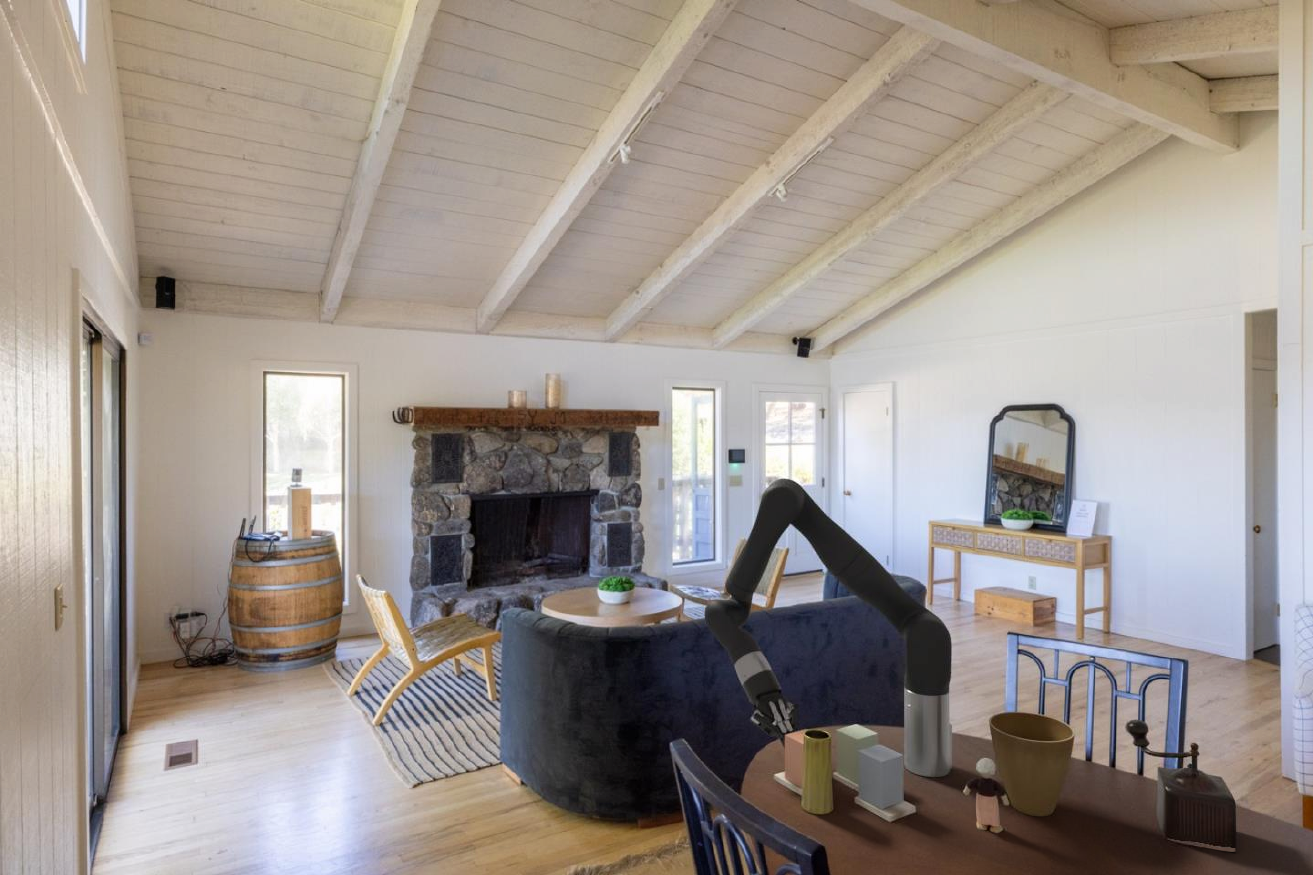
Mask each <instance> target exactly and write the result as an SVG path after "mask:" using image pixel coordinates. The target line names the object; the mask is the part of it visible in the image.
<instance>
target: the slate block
mask: <svg viewBox="0 0 1313 875" xmlns="http://www.w3.org/2000/svg"><path fill="white" fill-rule="evenodd" d="M904 788H905V787H904V754H902V753H900V752H898V751H895V750H893V749H891V748H889V747H886V746H884V745H882V744H880V743H878V745H875V746H872V747H869V748H866V749H862V750H859V751H858V791H857V793H858V794H857V796H858V797H860V798H862V799H864V800H866V801H868V802H870V803H871V804H873V805H875V806H877V807H879V808H881V809H884V808H887V807H889V806H892V805H895V804H897V803H900V802H903V801H905V800H904Z"/></svg>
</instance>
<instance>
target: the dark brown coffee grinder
mask: <svg viewBox="0 0 1313 875" xmlns="http://www.w3.org/2000/svg"><path fill="white" fill-rule="evenodd" d="M1125 731H1126V732H1127V733H1128V734H1130V736H1131V737H1132V739H1133V741H1132V745H1134V746H1135V747H1139V748H1140V750H1141V751H1142V752H1143V753H1144V754H1147V755H1148V756H1152V757H1158V758H1165V759H1168V758H1169V759H1183V758H1189V757H1191V763H1186V766H1187V767H1182V768H1168V767H1162V766H1157V806H1156V812H1155V814H1156V820H1157V819H1158V820H1157V823H1158V822H1159V823H1158V824H1159V825H1160V826H1159V825H1158V826H1159V829H1160V828H1161V829H1160V831H1161V830H1162V831H1161V833H1162V832H1163V833H1164V835H1165V836H1164V835H1163V836H1164V838H1165V837H1166V838H1169V839H1174V840H1180V841H1191V842H1199V843H1204V844H1209V845H1213V846H1221V847H1231V848H1236V849H1237V810H1236V809H1237V808H1236V807H1237V806H1236V804H1237V803H1236V800H1235V797H1234V796H1233V794H1232V792H1231V790H1230V788H1229V787H1228V786H1227V783H1226V782H1225V780H1224V779H1223V778H1222V776H1218V775H1212V774H1207V773H1205V772H1204V771H1202V770H1200V769H1199V768H1198V757H1199V756H1200V752H1199V748H1200V747H1199V745H1198V744H1197V742H1191V744H1190V749H1189V751H1187V752H1186V751H1185V752H1159V751H1153V750H1150V749H1149V748H1148V747H1149V745H1150V741H1149V740H1148V738H1147V736H1148V733H1149V726H1148V724H1147V723H1146V722H1145V721H1144V720H1143V721H1142V720H1140V719H1131V720H1129V721H1127V722H1126V724H1125ZM1163 833H1162V834H1163ZM1166 838H1165V839H1166Z"/></svg>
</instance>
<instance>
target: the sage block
mask: <svg viewBox="0 0 1313 875" xmlns="http://www.w3.org/2000/svg"><path fill="white" fill-rule="evenodd" d="M835 745H836V746H835V748H836V750H835V751H836V752H835V755H836V756H835V759H836V760H835V761H836V762H835V769H836V771H835V772H837V773H838V774H840V775H842V776H844V777H846V778H848V779H850V780H852V781H854V782H856V783H858V751H859V750H862V749H866V748H869V747H872V746H875V745H879V733H878V732H877V731H875V730H874V731H873V730H871V729H869V728H867V727H864V726H862V725H861V724H857V723H854V724H852V725H848V726H845V727H841V728H838V729H836V730H835Z"/></svg>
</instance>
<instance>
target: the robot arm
mask: <svg viewBox="0 0 1313 875" xmlns="http://www.w3.org/2000/svg"><path fill="white" fill-rule="evenodd" d="M757 510H758V511H757V512H756V513H757V514H756V517H755V521H754V524H753V526H752V529H751V532H750V533H749V535H748V538H747V539H746V542H745V544H744V546H743V548H742V549H741V551H740V553H739V555H738V557H737V559H736V561H734V565H733V566H732V568H731V570H730V573H729V575H728V576H727V578H726V581H725V585H724V589H725V591H726V592H727V593H728V594H729V595H730V598H729V599H715V600H711V601H710V602H708V603H707V605H706V606H705V608H704V612H703V613H704V615H703V616H704V620H705V624H706V626H707V628H708V630H709V631H710V632H711V634H712V635H713V636H714V638H715V639H716V640H717V641H718V642H719V643H720V645H721V646H722V647H723V648H724V649H725V650H726V652H727V654H728V656H729V658H730V660H731V662H732V664H733V665H732V666H733V667H734V669H735V671H736V675H737V677H738V679H739V682H740V684H741V686H742V689H743V690H744V692H745V694H746V697H747V698H748V700H749V702H750V704H752V705H753V710H754V713H753V715H752V716H751V717H750V718H749V722H750V723H751V724H752V725H754V726H755V727H756V728H757V729H759V730H760V731H762V732H763V733H764V734H766V735H767V736H769V737H771V738H774V737H777V738H778V739H779V740H780V743H781V744H782V747H783V748H784V750H785V735H786V734H790V733H793V731H794V730H795V729H796V728H797V727H798V723H799V722H798V721H799V712H800V705H799V703H797V702H795V703H791V702H790V701H788V699H787V698H786V697H785V695H783V693H782V687H781V684H780V683H779V681H778V679H777V677H776V675H775V673H774V671H773V669H772V668H771V665H770V663H769V662H768V660H767V658H766V657H765V655H764V654H763V652H762V650H761V648H760V646H759V644H758V643H757V640H756V639H755V637H754V636H753V634H752V633H751V632H748V631H745V630H742V629H741V628H742V627H743V626H745V624H746V623H747V622H748V619H749V616H750V612H751V608H752V604H753V598H754V597H753V596H754V594H755V592H756V589H757V588H758V586H759V584H760V582H761V580H762V578H763V576H764V574H765V571H766V569H767V567H768V564H769V562H770V559H771V556H772V554H773V551H774V549H775V548H776V545H777V544H778V542H779V541H780V539H781V537H782V536H783V534H784V533H785V532H786V530H787V529H788V528H789V527H790V525H791V526H792V527H793V528H794V529H796V530H797V531H798V532H799V533H800V534H801V535H802V536H803V537H804V538H805V539H806V540H807V542H808V543H809V544H810V546H811V547H812V549H813V550H814V552H815V554H816V555H817V557H818V558H819V560H820V561H821V563H822V565H824V567H825V568H826V569H827V570H828V572H829V573H830V574H831V575H832V576H833V577H834V578H835V579H836V580H837V581H838V582H839V583H841V585H843V587H845V589H847V590H848V591H849V592H851V593H852V594H853V595H854V596H856V597H857V598H859V599H860V600H861V601H862V602H864V603H865V604H868V605H869V606H870V607H872V608H873V609H875V610H876V611H878V612H879V614H881V615H882V616H883V617H884V618H885V619H886V620H887V621H888V622H889V623H890V624H891V625H892V626H893V628H895V630H896V631H897V632H898V633H899V634H900V636H901V637H902V638H903V640H904V642H905V672H904V675H903V677H904V678H903V682H904V683H903V686H904V688H903V689H904V690H903V692H904V696H903V697H904V698H903V699H904V704H903V705H904V708H903V709H904V711H903V712H904V714H903V715H904V718H903V719H904V728H903V729H904V735H903V736H904V738H903V739H904V743H903V744H904V749H903V750H904V752H903V753H904V754H903V766H904V768H906V770H907V771H909V772H910V773H912V774H915V775H918V776H923V777H929V778H940V777H945V776H947V775H949V773H950V770H951V769H953V726H952V724H951V723H950V683H951V680H952V655H953V654H952V653H953V652H952V650H953V649H952V647H953V646H952V643H953V642H952V636H951V633H950V630H949V629H948V627H947V625H946V624H945V623H944V621H943V620H942V619H941V618H940V617H939V616H938V615H936V614H935V613H933V612H932V611H930V610H929V609H928V608H926V607H925V606H924V605H923V604H921V603H920V602H919V601H917V600H916V599H915V598H914V597H912V596H911V595H910V594H909V593H908V592H907V591H906V590H904V589H903V587H902V586H901V585H900V584H899V583H898V582H897V581H896V580H895V578H894V577H893V576H892V575H891V574H890V573H889V571H888V570H887V569H886V568H885V567H884V566H883V565H882V564H881V563H880V562H879V561H878V560H877V559H876V558H875V557H874V556H873V555H872V554H871V553H870V552H869V551H868V550H867V549H866V548H865V547H863V546H862V545H861V544H860V543H859V542H858V541H857V540H856V539H855V538H854V537H852V536H851V535H850V533H848V532H847V531H846V530H845V529H843V527H841V526H840V525H839V524H838V523H837V522H835V521H834V520H833V519H832V518H830V517H829V515H828V514H826V513H825V512H824V511H823V509H822V508H821V507H820V505H818V504H817V502H816V501H815V500H814V499H813V498H812V497H811V496H810V495H809V493H808V492H807V491H806V490H805V488H803V486H801V484H799V483H798V482H797V481H795V480H794V479H790V478H779V479H776V480H774V481H773V482H772V483H770V484H769V486H768V487H766V489H765V490H764V491H763V493H762V495H761V498H760V504H759V507H758V509H757Z"/></svg>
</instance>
